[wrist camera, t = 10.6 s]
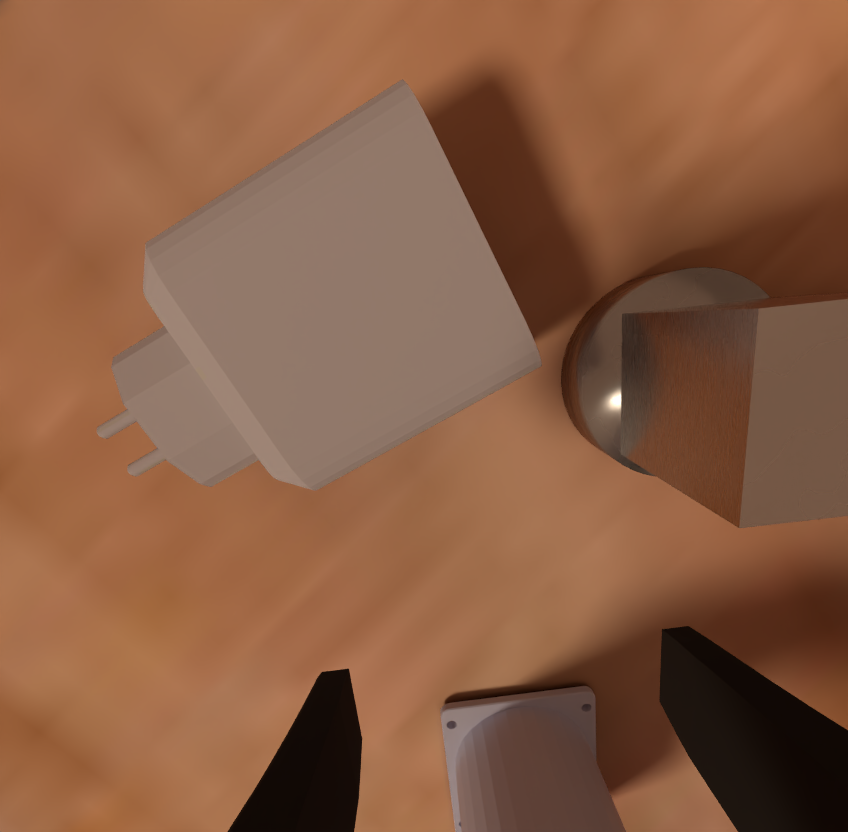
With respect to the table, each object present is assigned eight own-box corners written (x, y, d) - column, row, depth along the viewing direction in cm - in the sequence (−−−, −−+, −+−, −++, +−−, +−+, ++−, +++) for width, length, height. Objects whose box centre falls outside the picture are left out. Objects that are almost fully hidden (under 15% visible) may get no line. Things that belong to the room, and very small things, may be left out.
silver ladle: (970, 419, 18) (1183, 456, 13) (563, 469, 18) (623, 526, 13) (1010, 233, 16) (1277, 194, 11) (557, 286, 16) (624, 270, 11)
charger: (84, 340, 16) (404, 141, 15) (221, 518, 18) (512, 356, 17) (-44, 347, 12) (402, 61, 10) (157, 585, 14) (551, 368, 12)
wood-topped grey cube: (754, 438, 16) (947, 504, 10) (620, 454, 16) (739, 528, 10) (768, 297, 15) (997, 282, 9) (622, 313, 14) (758, 308, 9)
